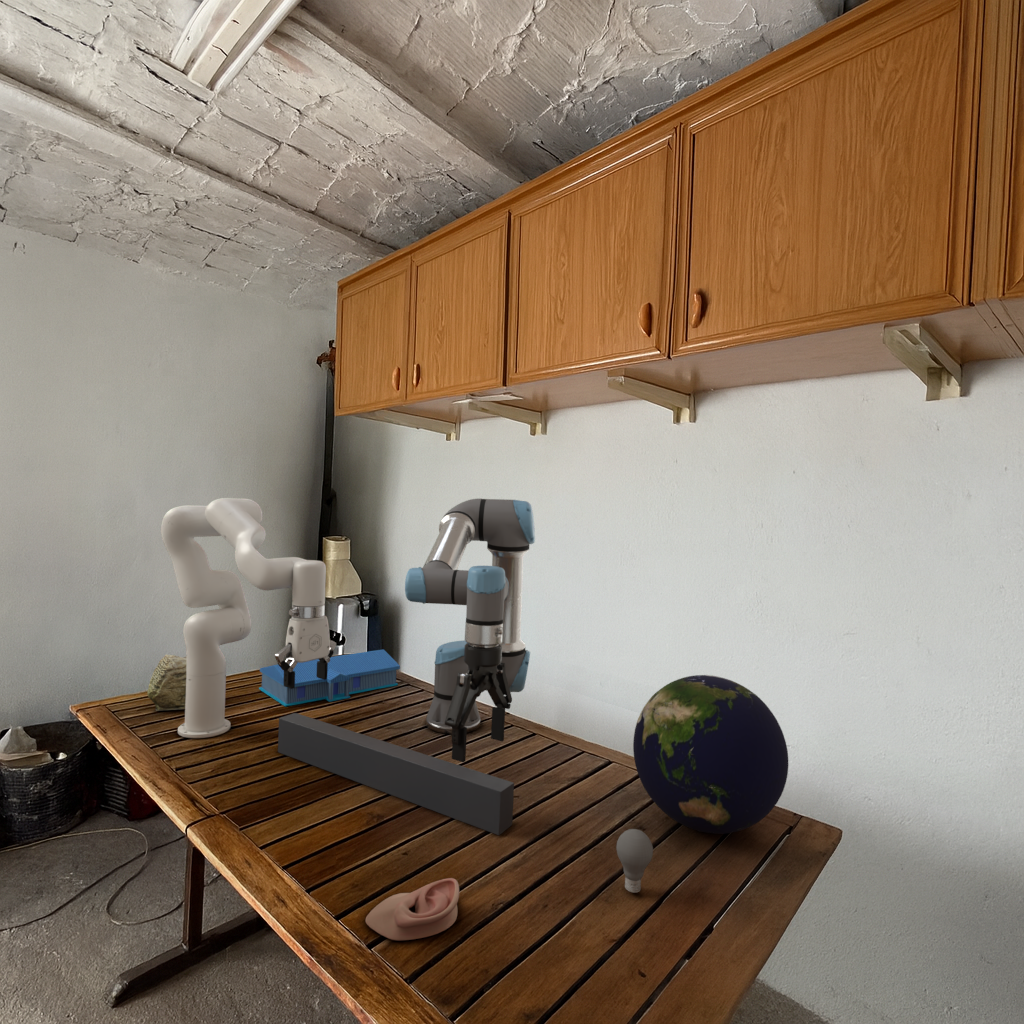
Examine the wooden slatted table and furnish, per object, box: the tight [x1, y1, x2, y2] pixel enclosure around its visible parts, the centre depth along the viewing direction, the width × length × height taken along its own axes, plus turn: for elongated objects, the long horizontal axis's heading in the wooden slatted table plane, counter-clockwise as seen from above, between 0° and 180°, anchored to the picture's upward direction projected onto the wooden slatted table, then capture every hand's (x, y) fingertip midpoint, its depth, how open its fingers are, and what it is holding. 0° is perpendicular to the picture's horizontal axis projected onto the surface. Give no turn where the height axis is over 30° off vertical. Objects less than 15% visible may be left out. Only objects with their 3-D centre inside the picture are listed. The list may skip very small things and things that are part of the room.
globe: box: [632, 674, 789, 835], centre depth 129 cm, size 30×30×30 cm
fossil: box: [147, 654, 187, 712], centre depth 185 cm, size 9×18×15 cm, turn 132°
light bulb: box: [615, 828, 654, 894], centre depth 106 cm, size 6×6×10 cm
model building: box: [258, 649, 401, 707], centre depth 208 cm, size 39×24×10 cm, turn 132°
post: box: [277, 712, 515, 836], centre depth 141 cm, size 65×5×8 cm, turn 58°
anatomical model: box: [365, 877, 460, 942], centre depth 97 cm, size 13×4×12 cm
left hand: (305, 682), depth 152 cm, fingers open, 9 cm apart
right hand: (478, 749), depth 127 cm, fingers open, 13 cm apart
